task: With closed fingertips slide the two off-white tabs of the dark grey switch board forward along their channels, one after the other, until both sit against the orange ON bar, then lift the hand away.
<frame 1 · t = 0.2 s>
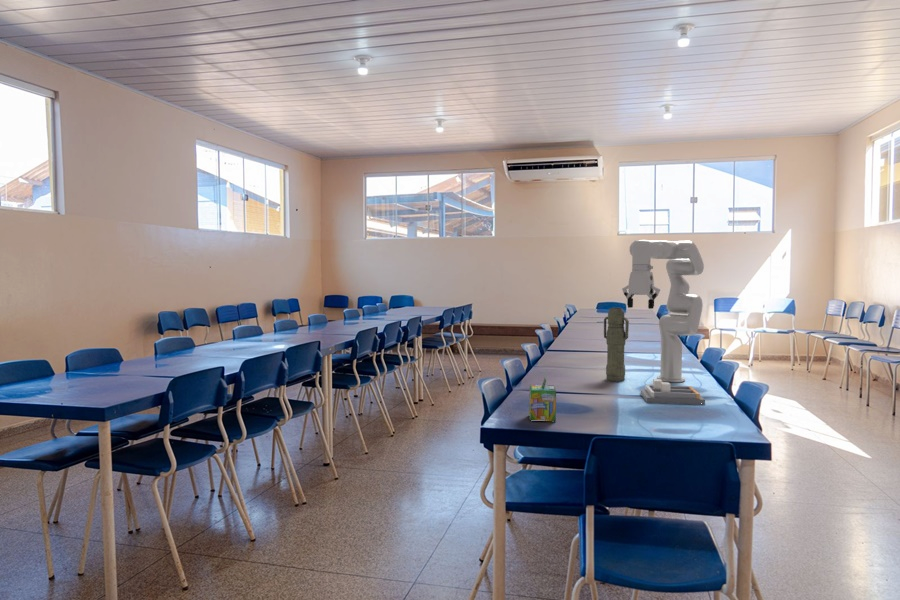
hand: (640, 308, 243), 37 cm above the table, tool pointing down, fingers open, 9 cm apart
chalk box: (542, 419, 201), on the table
thermos: (615, 380, 271), on the table
tab left: (657, 385, 234), point 5 cm above the table, slide at 0.0 cm
switch board: (671, 398, 231), on the table
tab right: (665, 389, 228), point 5 cm above the table, slide at 0.0 cm
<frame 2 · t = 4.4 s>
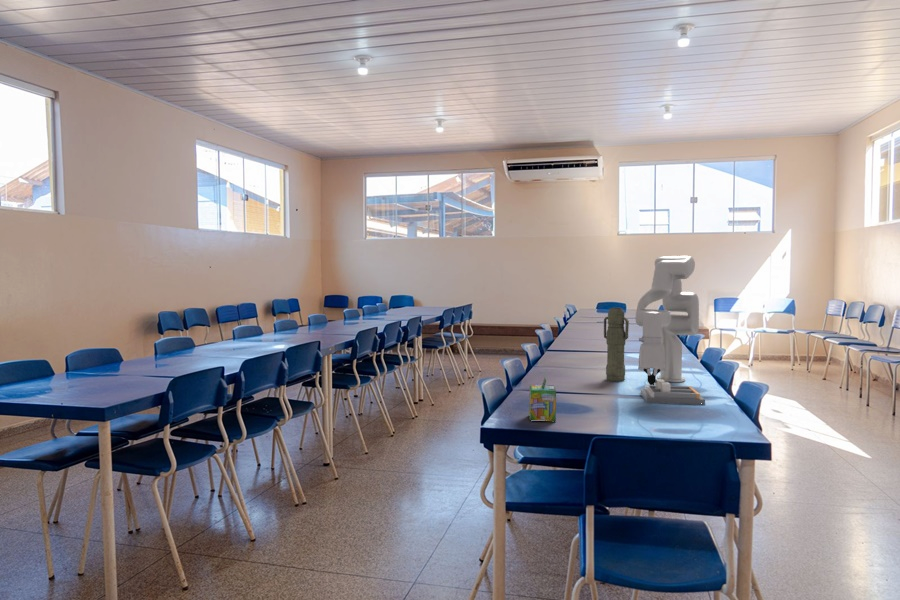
hand: (651, 384, 235), 5 cm above the table, tool pointing down, fingers closed
tab left: (659, 385, 234), point 5 cm above the table, slide at 1.0 cm, touching gripper
everything else where it was.
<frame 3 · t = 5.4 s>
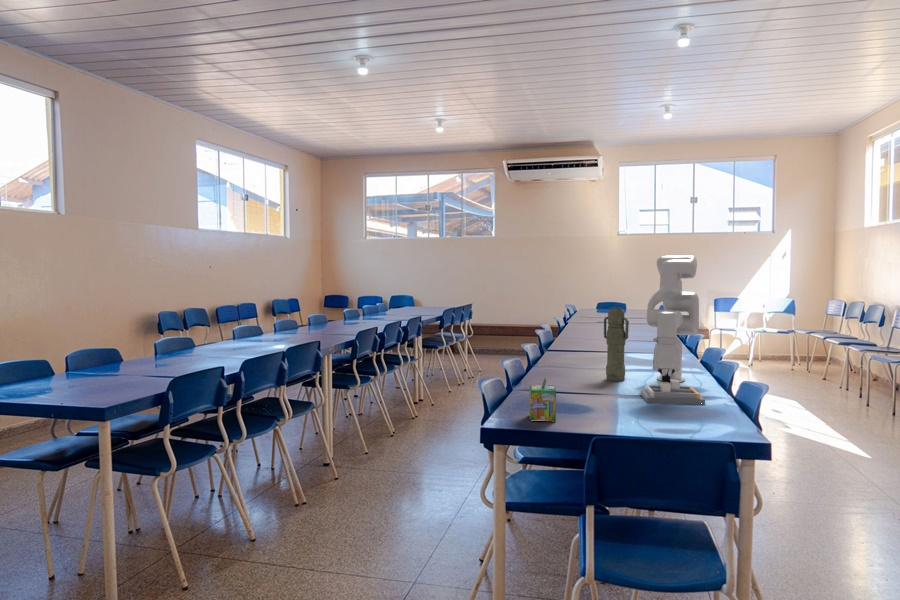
hand: (666, 384, 234), 5 cm above the table, tool pointing down, fingers closed
tab left: (674, 386, 233), point 5 cm above the table, slide at 6.7 cm, touching gripper
everything else where it was.
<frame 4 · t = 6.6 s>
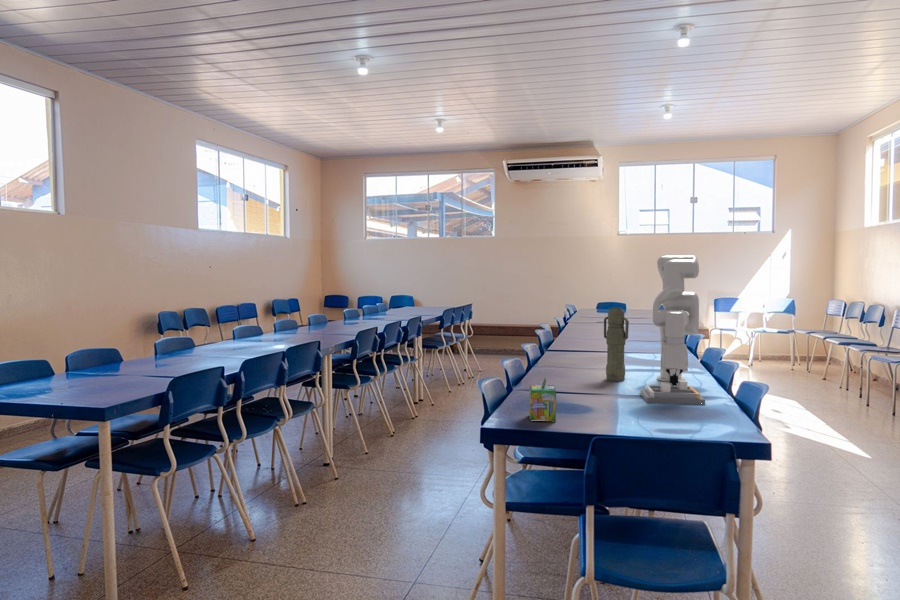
hand: (673, 384, 233), 5 cm above the table, tool pointing down, fingers closed
tab left: (682, 386, 232), point 5 cm above the table, slide at 9.8 cm, touching gripper
everything else where it was.
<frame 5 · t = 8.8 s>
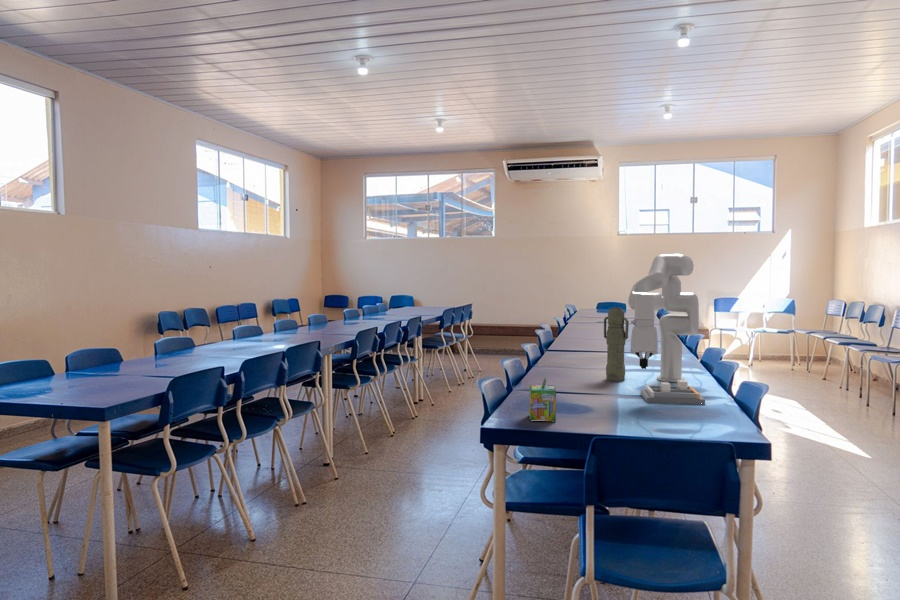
hand: (643, 368, 229), 13 cm above the table, tool pointing down, fingers closed
tab left: (682, 386, 232), point 5 cm above the table, slide at 9.8 cm
everything else where it was.
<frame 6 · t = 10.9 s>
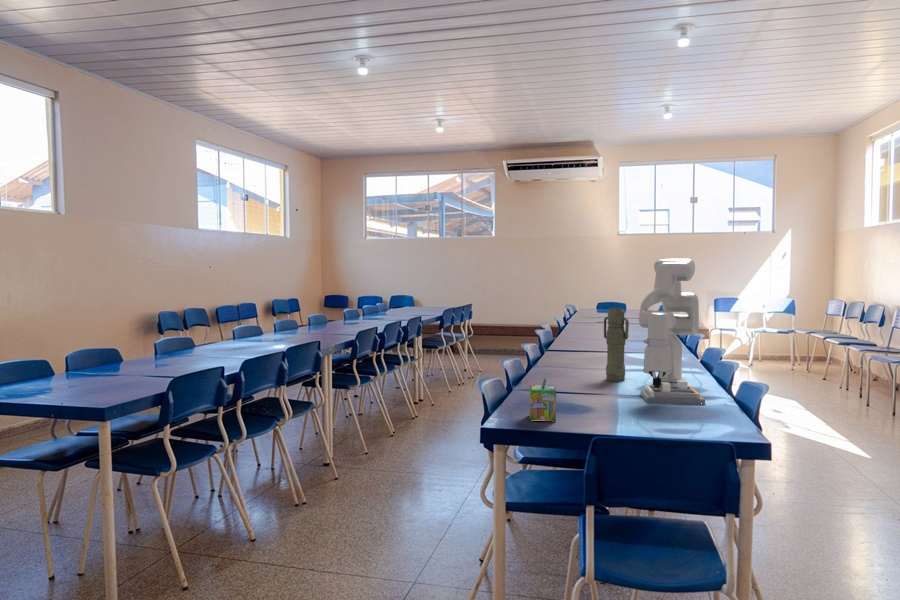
hand: (656, 387, 228), 5 cm above the table, tool pointing down, fingers closed
tab right: (665, 389, 228), point 5 cm above the table, slide at 0.0 cm, touching gripper
everything else where it was.
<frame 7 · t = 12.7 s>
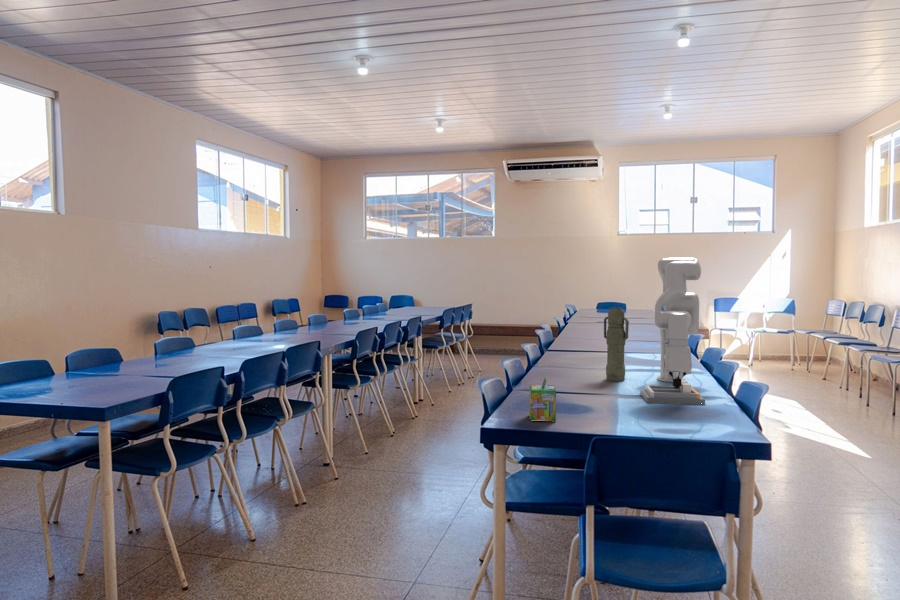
hand: (676, 387, 227), 5 cm above the table, tool pointing down, fingers closed
tab right: (685, 389, 227), point 5 cm above the table, slide at 7.8 cm, touching gripper
everything else where it was.
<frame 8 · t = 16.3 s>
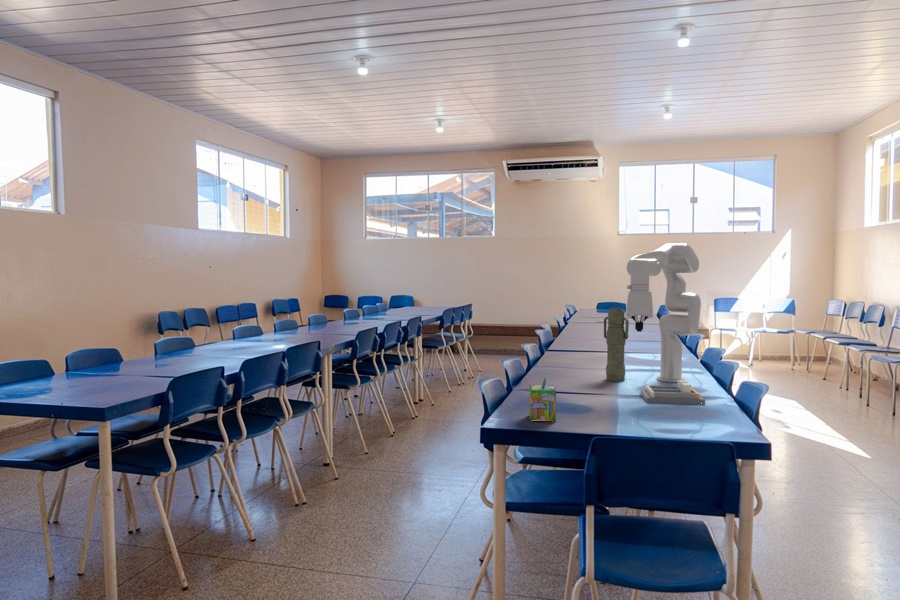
hand: (639, 331, 238), 27 cm above the table, tool pointing down, fingers closed
tab right: (685, 389, 227), point 5 cm above the table, slide at 7.8 cm
everything else where it was.
at the end: tab left slide at 9.8 cm; tab right slide at 7.8 cm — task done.
